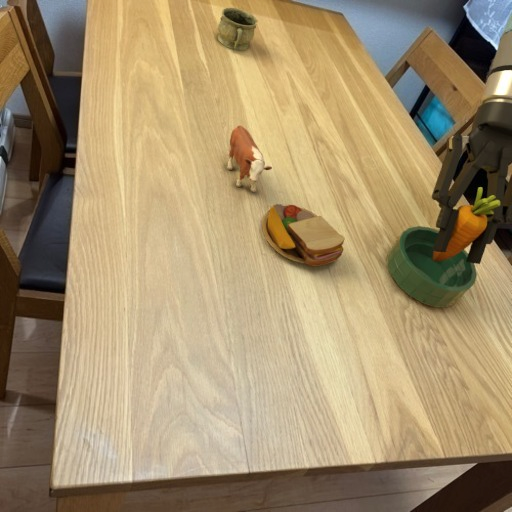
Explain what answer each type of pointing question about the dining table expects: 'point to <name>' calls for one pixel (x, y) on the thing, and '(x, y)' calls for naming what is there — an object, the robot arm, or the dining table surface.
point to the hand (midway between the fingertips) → (456, 256)
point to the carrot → (468, 225)
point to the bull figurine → (246, 156)
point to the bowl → (429, 269)
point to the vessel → (236, 28)
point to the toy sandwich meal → (301, 235)
